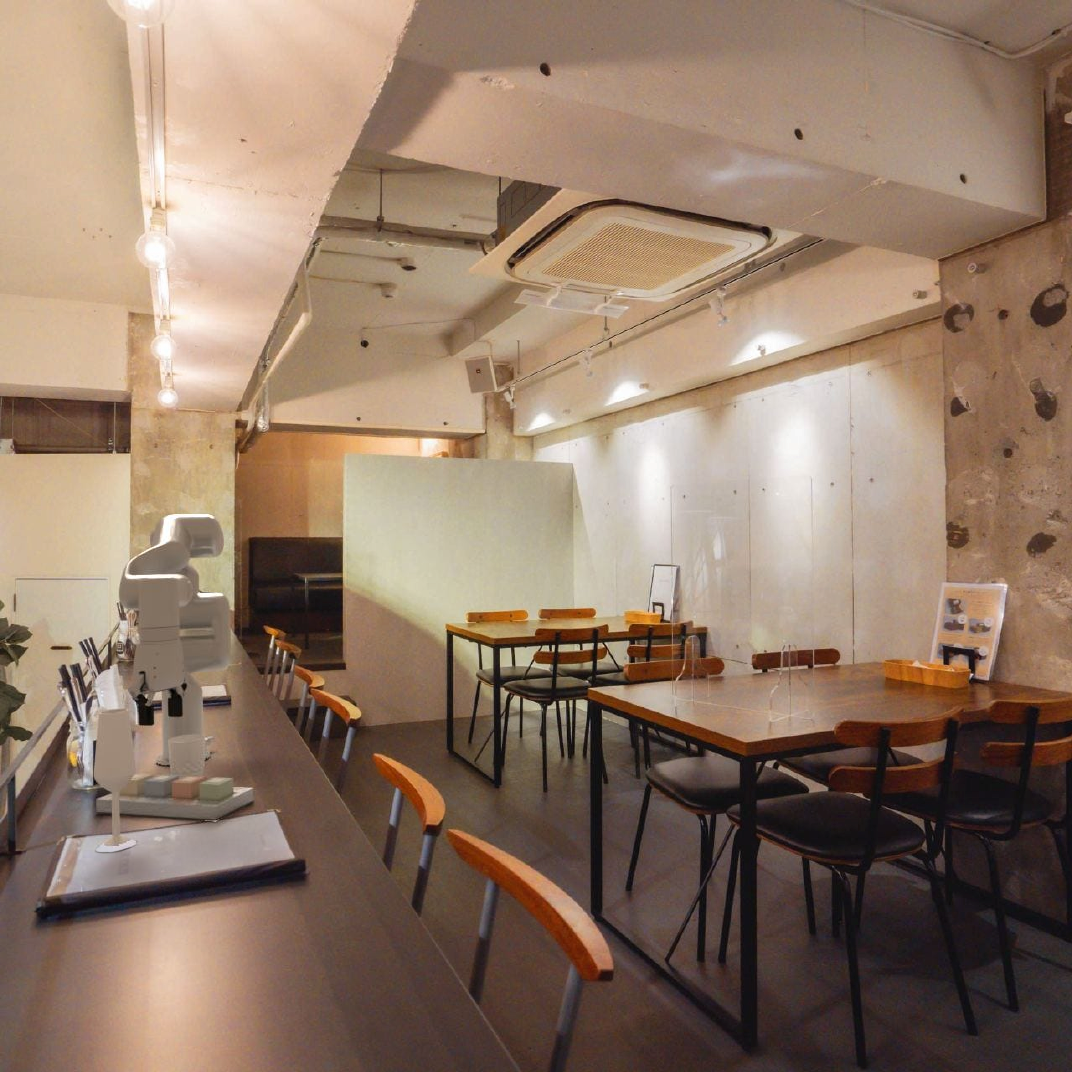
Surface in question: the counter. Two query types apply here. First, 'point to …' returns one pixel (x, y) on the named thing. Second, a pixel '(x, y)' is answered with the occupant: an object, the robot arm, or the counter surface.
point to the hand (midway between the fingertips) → (161, 720)
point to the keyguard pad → (177, 806)
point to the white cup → (187, 755)
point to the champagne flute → (114, 762)
